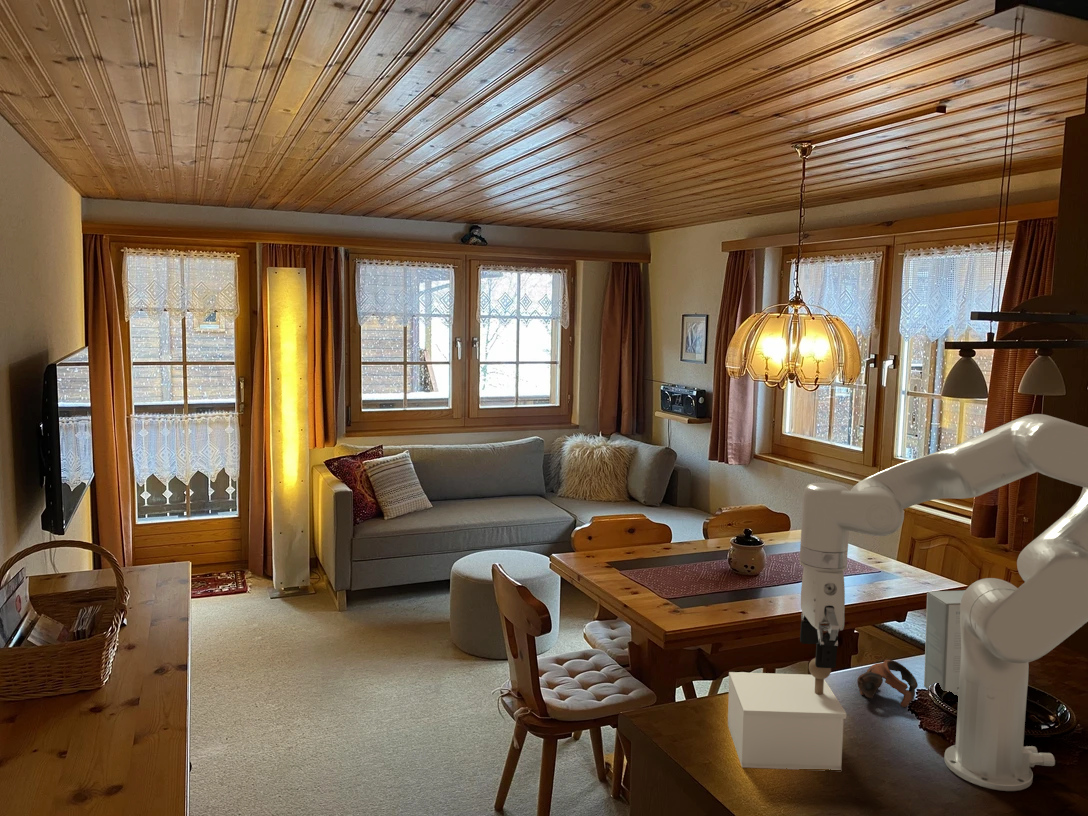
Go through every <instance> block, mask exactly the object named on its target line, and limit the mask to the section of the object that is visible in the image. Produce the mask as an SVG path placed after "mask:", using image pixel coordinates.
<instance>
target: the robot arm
mask: <svg viewBox="0 0 1088 816" xmlns="http://www.w3.org/2000/svg"><path fill="white" fill-rule="evenodd" d="M1035 473H1039V474H1041V475H1044V476H1047V477H1049V478H1052V479H1055V480H1059V481H1061V482H1065V483H1068V484H1072V485H1075V486H1079V487H1082V490H1081V491H1080V492H1081V493H1080V496H1079V497H1078V499H1077V500H1076V502H1075V503H1074V504H1073V505H1072V506H1071V507H1070V508H1069V509H1068V510H1067V511H1065V513H1063V515H1062V516H1061V517H1059V519H1057V520H1056V521H1055V522H1053V523H1052V524H1051V525H1050V526H1048V528H1046V529H1045V530H1044V531H1043V532H1041V533H1040V534H1039V535H1038V536H1037V537H1035V538H1034V539H1033V540H1032V541H1031V542H1030V543H1028V544H1027V545H1026V546H1025V547H1024V548H1023V549H1022V550H1021V551H1020V553H1019V555H1018V557H1017V560H1016V566H1017V571H1018V574H1019V576H1020V577H1021V579H1022V581H1024V583H1022V584H1021V585H1020V586H1019V587H1017V586H1015V585H1014V584H1012V582H1009V581H1006V580H1003V579H1001V578H996V577H985V578H981V579H978V580H976V581H975V582H973V583H971V584H970V585H969V586H968V587H967V588H966V589H965V590H966V591H965V592H964V594H963V596H962V599H961V604H960V628H961V666H960V678H959V696H958V702H957V714H956V715H957V718H956V729H955V730H956V733H955V735H956V736H955V744H953V745H951V746H949V747H947V748H946V749H945V752H944V756H943V757H944V762H945V765H946V766H947V768H948V769H949V770H950V771H951V772H952V773H954V774H955V775H956V776H958V777H959V778H961V779H963V780H965V781H966V782H968V783H972V784H974V785H976V786H979V787H983V788H985V789H990V790H995V791H1003V792H1004V791H1005V792H1017V791H1022V790H1025V789H1027V788H1029V787H1030V786H1031V785H1032V783H1033V778H1034V774H1033V771H1032V769H1031V768H1035V766H1041V767H1042V766H1043V767H1044V766H1045V767H1053V766H1055V765H1056V760H1055V756H1054V755H1053V754H1052V753H1051V752H1038V748H1037V747H1036V746H1033V745H1031V746H1030V745H1029V746H1028V745H1026V746H1024V740H1025V729H1026V728H1025V726H1026V725H1025V724H1026V723H1025V722H1026V713H1027V712H1026V711H1027V700H1028V699H1027V697H1028V686H1029V664H1030V662H1033V661H1034V662H1035V661H1036V660H1039V659H1041V658H1043V656H1046V655H1047V654H1048V653H1050V652H1051V651H1053V649H1055V648H1057V646H1059V645H1060V644H1062V643H1063V642H1064V641H1065V640H1066V639H1068V638H1069V637H1070V636H1071V635H1073V634H1074V633H1075V632H1076V631H1078V630H1079V629H1080V628H1082V627H1083V626H1084V625H1085V624H1087V623H1088V427H1087V426H1084V425H1080V424H1077V423H1074V422H1072V421H1071V422H1070V421H1068V420H1066V419H1065V420H1064V419H1061V418H1058V417H1056V416H1055V417H1054V416H1051V415H1048V414H1044V413H1043V414H1042V413H1033V414H1028V415H1024V416H1022V417H1019V418H1016V419H1014V420H1011V421H1009V422H1007V423H1004V424H1002V425H1000V426H997V427H995V428H992V429H991V430H988V431H986V432H984V433H982V434H980V435H977V436H975V437H972V438H970V439H968V440H965V441H963V442H961V443H959V444H955V445H954V446H951V447H948V448H946V449H944V450H938V451H936V452H932V453H930V454H927V455H924V456H920V457H917V458H915V459H914V458H913V459H911V460H906V461H904V462H901V463H898V464H896V465H894V466H891V467H889V468H886V469H884V470H882V471H879V472H877V473H875V474H873V475H870V476H868V477H865V478H864V479H862V480H860V481H858V483H856V484H854V486H853V487H852V488H851V489H850V490H849V488H848V487H846V486H844V485H842V484H839V483H833V482H832V483H831V482H813V483H809V484H807V485H806V487H804V489H803V496H802V514H801V529H800V530H801V531H800V547H799V562H798V563H799V565H800V566H802V567H803V569H802V578H801V579H802V580H801V589H800V590H801V593H800V609H801V615H800V617H801V618H800V619H801V620H800V634H799V641H800V643H801V644H803V645H804V644H807V645H809V644H810V645H815V646H816V647H815V658H816V659H815V665H816V667H818V668H831V669H835V668H837V667H836V666H837V655H838V646H839V641H838V640H839V632H840V631H843V630H844V628H845V610H846V609H845V603H846V602H845V597H846V595H845V594H846V593H845V591H846V589H845V588H846V587H845V577H844V576H845V575H844V574H845V573H844V571H847V569H848V568H847V567H848V565H847V564H848V554H849V553H848V550H849V538H850V537H849V536H850V532H853V533H858V534H863V535H867V536H872V537H886V536H889V535H893V534H895V533H896V532H897V531H898V530H900V529H901V527H902V525H903V523H904V519H905V511H904V510H905V509H908V508H910V507H912V506H915V505H918V504H921V503H924V502H930V501H935V500H939V499H940V500H941V499H956V500H957V499H958V500H961V499H970V498H971V499H972V498H976V497H979V496H983V495H984V494H986V493H989V492H992V491H993V490H997V489H998V488H1000V487H1003V486H1005V485H1006V486H1007V485H1008V484H1010V483H1012V482H1015V481H1019V480H1021V479H1023V478H1025V477H1028V476H1030V475H1032V474H1035ZM824 632H826V633H825V634H824Z"/></svg>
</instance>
